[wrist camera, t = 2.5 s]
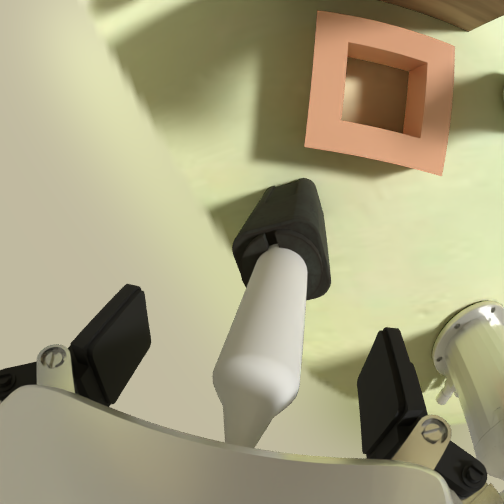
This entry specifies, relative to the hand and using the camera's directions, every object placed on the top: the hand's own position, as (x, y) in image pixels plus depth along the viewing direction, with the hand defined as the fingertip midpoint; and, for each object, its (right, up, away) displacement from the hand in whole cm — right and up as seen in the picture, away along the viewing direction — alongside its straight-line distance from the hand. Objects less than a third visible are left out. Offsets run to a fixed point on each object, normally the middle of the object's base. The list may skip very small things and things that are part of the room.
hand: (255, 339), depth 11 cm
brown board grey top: (+12, +26, +7) cm, 30 cm away
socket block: (+11, +17, +12) cm, 24 cm away
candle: (+4, +8, +18) cm, 20 cm away
